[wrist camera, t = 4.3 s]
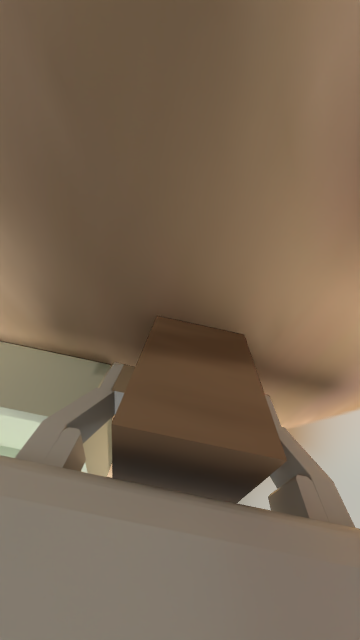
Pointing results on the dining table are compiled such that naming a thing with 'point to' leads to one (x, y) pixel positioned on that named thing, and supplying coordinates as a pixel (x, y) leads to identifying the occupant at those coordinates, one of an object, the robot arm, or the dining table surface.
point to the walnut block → (195, 415)
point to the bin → (47, 398)
